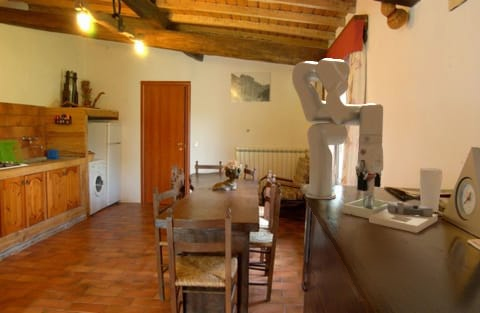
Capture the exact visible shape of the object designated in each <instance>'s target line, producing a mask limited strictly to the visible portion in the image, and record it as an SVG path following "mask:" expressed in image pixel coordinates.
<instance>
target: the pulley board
mask: <svg viewBox="0 0 480 313" xmlns="http://www.w3.org/2000/svg"><path fill="white" fill-rule="evenodd" d="M388 202H389V203H388V207H387V209H386V210H383V211H381V212H378V213H375V214H373V215H370V216H369V218H368V222H369V223H371V224H375V225H379V226H385V227H389V228H394V229H398V230H402V231H407V232H411V233H414V234H415V233H416V234H417V233H419V232H420V231H423V230H424V229H425V228H427V227H430V226H431V225H433V224H435V223H436V222H437V221H438V219H439V218H438V214H435V213H434V212H433V208H431V207H427V206H421V205H417V204H412V203H408V202H404V201H388Z"/></svg>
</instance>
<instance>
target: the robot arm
mask: <svg viewBox="0 0 480 313" xmlns="http://www.w3.org/2000/svg"><path fill="white" fill-rule="evenodd" d="M350 71H351V68H350V66H349V64H348V62H347V61H345V60H342V59H333V58H323V59H321V60H319V61H318V62H317V61H300V62H298V63H296V64H295V65H294V67H293V70H292V73H291V81H292V85H293V88H294V89H295V92H296V94H297V96H298V98H299V101H300V105H301V108H302V112H303V115H304V117H305V120H306V121H307V122H309V124H310V123H312V124H311V125H310V126H309V127H308V129H307V141H308V149H309V172H308V173H309V181H308V183H309V184H304V185H303V186H302V189H303V190H304V191H305V190H306V192H305V197H306V198H308V199H312V200H313V199H314V200H332V199H335V198H336V196H337V195H336V193H334V192H333V153H332V150H331V149H330V147H329V146H338V145H340V146H341V145H343V144H344V143H346V141H347V139H348V137H349V136H348V128H347V126H354V127H355V126H359V128H358V132H359V133H358V134H359V135H358V137H359V138H358V146H359V147H358V154H357V155H358V156H357V165H356V166H355V175H356V179H357V191H362V192H363V191H367V179H366V178H367V175H368V173H370V174H373V173H376V177H375V181H374V188H381V185H382V184H381V181H382V177H381V176H382V172H383V171H384V149H383V137H384V136H383V135H384V134H383V133H384V132H383V131H384V130H383V128H384V126H383V125H384V106H383V104H380V103H365V104H344V103H343V102H342V100H341V98H340V97H341V96H342V95H344V94H345V93H346V92H347V90H348V89H349V81H348V80H347V79H348V78H349V76H350V74H351V72H350ZM311 82H313V83H321V86H323V88H324V90H325V91H326V93H327V94H326V97H325V101H324V100H322V99H321V96H320V94H319V91H318V89H316V87H315V86H314V85H313V84H312V83H311ZM363 173H364V175H363Z"/></svg>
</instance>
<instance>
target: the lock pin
mask: <svg viewBox="0 0 480 313" xmlns="http://www.w3.org/2000/svg"><path fill="white" fill-rule="evenodd" d="M363 175H364V173H363ZM375 177H376V173H373V174H370V173H368V175H367V178H366V179H367V191H362V192H363V193H362V195H363V196H362V199H363V208H367V209H374V199H375V187H374V181H375Z"/></svg>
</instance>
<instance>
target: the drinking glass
mask: <svg viewBox="0 0 480 313" xmlns="http://www.w3.org/2000/svg"><path fill="white" fill-rule="evenodd" d="M442 184H443V169H441V168H437V167H436V168H435V167H420V168H419V193H420V197H419V198H420V206H427V207H431V208H433V213H437V212H438V211H439V204H440V197H441V196H440V195H441V190H442ZM436 211H437V212H436Z"/></svg>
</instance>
